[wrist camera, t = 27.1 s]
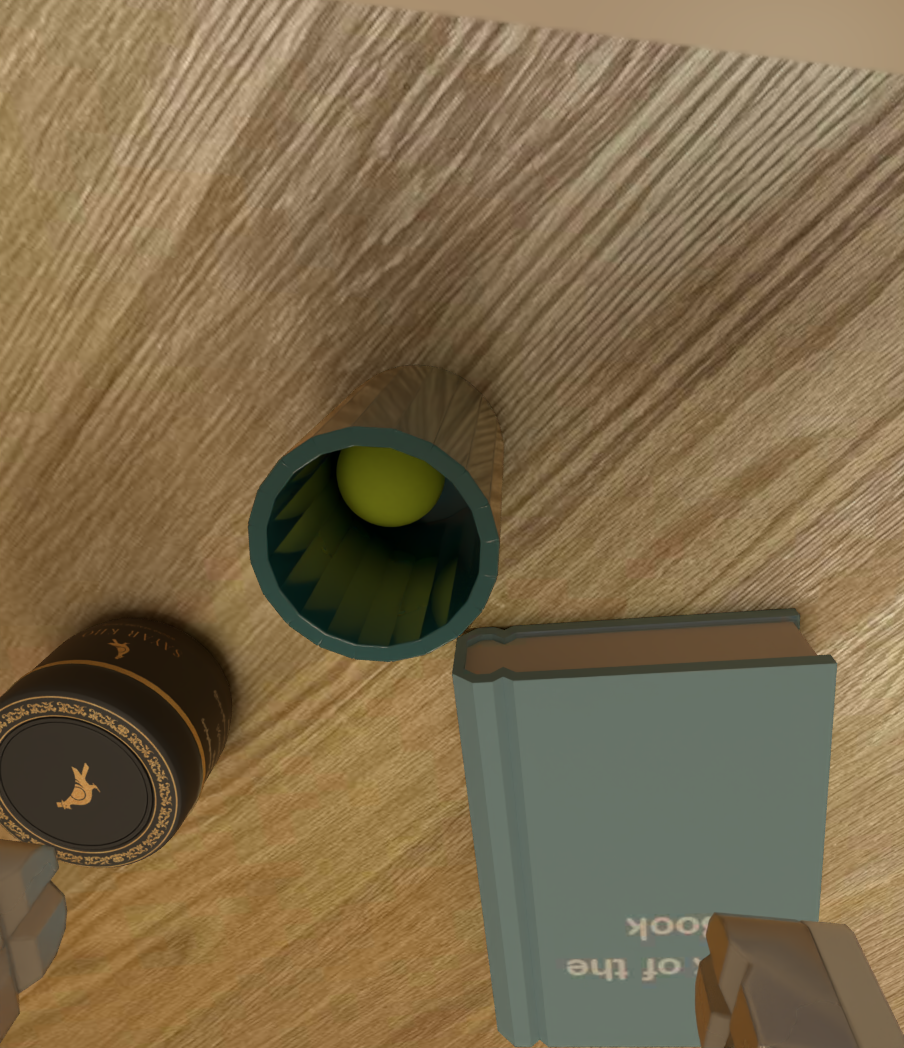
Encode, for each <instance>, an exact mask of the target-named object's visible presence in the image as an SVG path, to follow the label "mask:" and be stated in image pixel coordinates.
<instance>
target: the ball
mask: <svg viewBox="0 0 904 1048" xmlns="http://www.w3.org/2000/svg"><path fill="white" fill-rule="evenodd" d="M336 475H337V482H338V487H339V490H340V493H341V495H342V497H343V499H344V501H345V502H346V504H347V505H348V506H349V508H350V509H351V510H352V511H353V512H354V513H355V514H356V515H358V516H359V517H360V518H362V519H364V520H366V521H368V522H370V523H372V524H375V525H379V526H384V527H398V526H403V525H407V524H411V523H413V522H415V521H417V520H419V519H420V518H422V517H423V516H425V515H426V514H427V513H428V512H429V511H430V510H431V509H432V508H433V507H434V505H435V504H436V503H437V501H438V499H439V497H440V495H441V493H442V490H443V487H444V482H445V476H443V475H442V474H441V473H439V472H438V471H437V470H436V469H434V468H433V467H432V466H430V465H429V464H428V463H426V462H425V461H423V460H421V459H418V458H415V457H413V456H410V455H407V454H405V453H402V452H399V451H397V450H394V449H391V448H381V447H363V446H353V447H350V448H346V449H342V450H341V452H340V455H339V458H338V462H337V472H336Z"/></svg>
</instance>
